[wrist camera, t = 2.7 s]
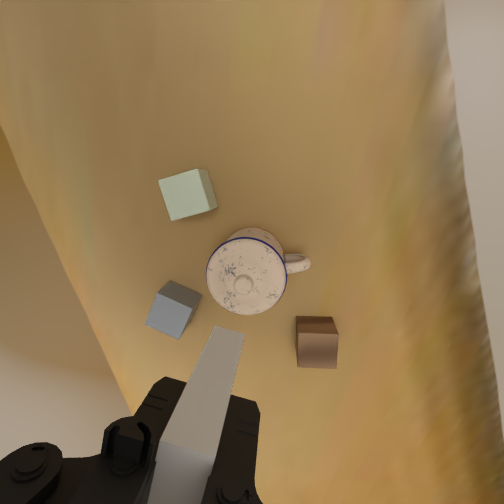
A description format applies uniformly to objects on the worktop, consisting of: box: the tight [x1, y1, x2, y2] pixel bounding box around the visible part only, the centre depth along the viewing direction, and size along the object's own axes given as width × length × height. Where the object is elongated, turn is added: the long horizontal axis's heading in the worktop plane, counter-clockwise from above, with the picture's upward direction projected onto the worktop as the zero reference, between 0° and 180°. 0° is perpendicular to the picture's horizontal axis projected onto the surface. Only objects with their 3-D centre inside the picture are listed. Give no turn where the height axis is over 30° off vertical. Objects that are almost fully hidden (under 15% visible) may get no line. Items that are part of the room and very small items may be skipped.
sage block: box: [158, 168, 218, 221], centre depth 38 cm, size 5×5×5 cm
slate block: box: [145, 280, 201, 340], centre depth 42 cm, size 5×5×5 cm
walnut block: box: [296, 316, 338, 369], centre depth 41 cm, size 5×5×5 cm
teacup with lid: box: [206, 228, 311, 315], centre depth 36 cm, size 12×9×12 cm
